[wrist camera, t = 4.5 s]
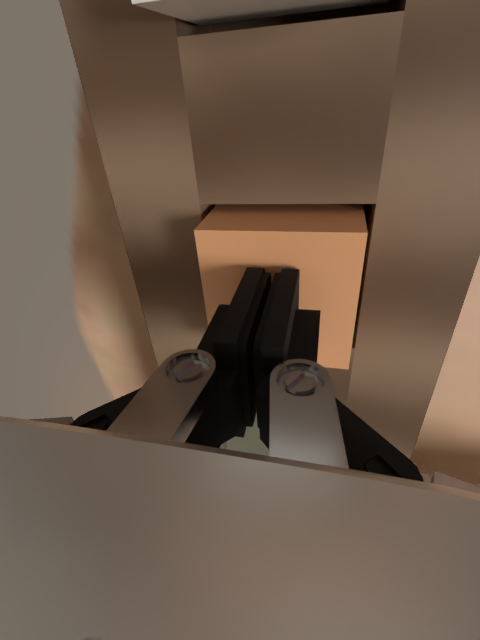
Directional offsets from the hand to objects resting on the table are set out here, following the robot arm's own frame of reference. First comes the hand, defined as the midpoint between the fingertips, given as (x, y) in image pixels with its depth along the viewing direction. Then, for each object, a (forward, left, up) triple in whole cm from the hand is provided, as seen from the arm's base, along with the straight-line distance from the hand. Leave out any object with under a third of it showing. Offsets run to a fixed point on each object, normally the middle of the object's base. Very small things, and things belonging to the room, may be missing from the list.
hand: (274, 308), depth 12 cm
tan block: (0, 0, -4) cm, 4 cm away
